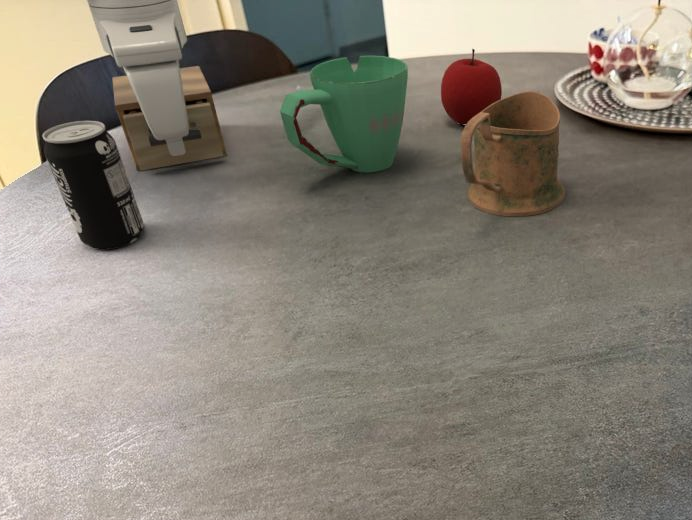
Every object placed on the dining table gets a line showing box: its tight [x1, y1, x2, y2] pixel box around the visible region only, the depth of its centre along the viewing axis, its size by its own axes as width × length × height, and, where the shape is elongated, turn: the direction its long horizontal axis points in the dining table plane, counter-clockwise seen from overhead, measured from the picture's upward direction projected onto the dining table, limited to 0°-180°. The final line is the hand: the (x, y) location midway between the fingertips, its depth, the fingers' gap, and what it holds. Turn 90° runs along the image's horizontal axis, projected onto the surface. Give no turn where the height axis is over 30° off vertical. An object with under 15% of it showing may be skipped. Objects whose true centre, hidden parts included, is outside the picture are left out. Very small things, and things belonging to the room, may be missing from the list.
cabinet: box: [111, 65, 228, 172], centre depth 96 cm, size 14×12×9 cm
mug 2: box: [460, 90, 566, 217], centre depth 78 cm, size 12×18×12 cm, turn 152°
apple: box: [440, 48, 503, 125], centre depth 101 cm, size 9×9×10 cm
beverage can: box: [42, 120, 145, 251], centre depth 73 cm, size 7×7×12 cm
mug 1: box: [279, 55, 409, 173], centre depth 87 cm, size 18×12×12 cm
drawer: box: [123, 99, 224, 171], centre depth 92 cm, size 17×10×7 cm, turn 24°
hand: (177, 151), depth 85 cm, fingers closed
